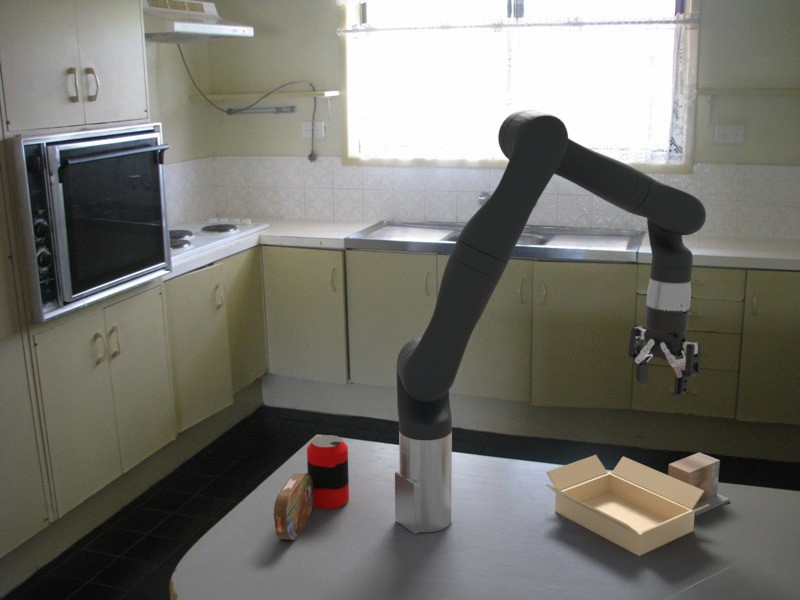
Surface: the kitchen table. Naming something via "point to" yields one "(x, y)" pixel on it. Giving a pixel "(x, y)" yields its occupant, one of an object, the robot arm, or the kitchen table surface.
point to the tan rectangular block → (697, 473)
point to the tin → (293, 506)
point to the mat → (710, 503)
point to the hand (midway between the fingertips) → (660, 389)
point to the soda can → (328, 471)
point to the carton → (625, 502)
